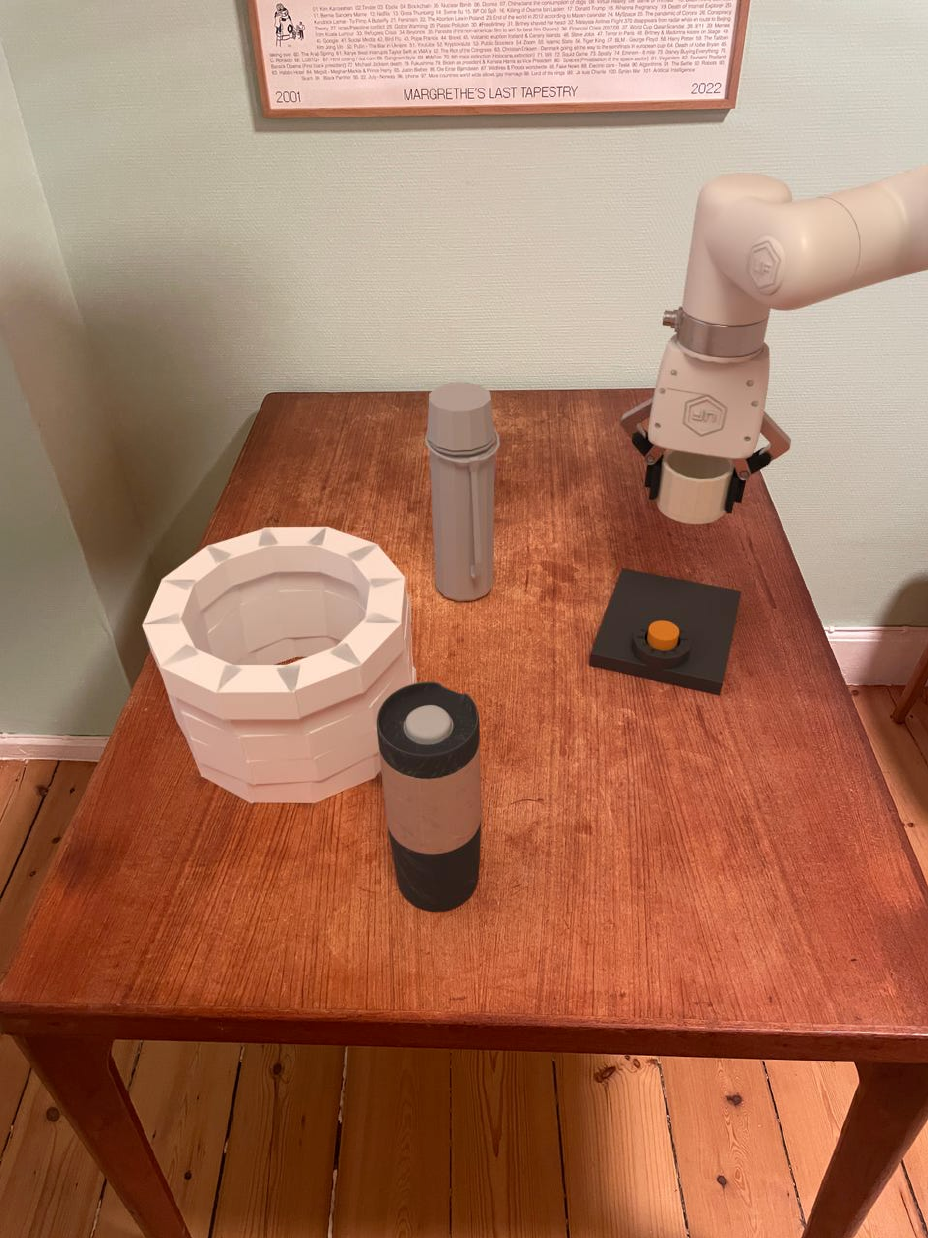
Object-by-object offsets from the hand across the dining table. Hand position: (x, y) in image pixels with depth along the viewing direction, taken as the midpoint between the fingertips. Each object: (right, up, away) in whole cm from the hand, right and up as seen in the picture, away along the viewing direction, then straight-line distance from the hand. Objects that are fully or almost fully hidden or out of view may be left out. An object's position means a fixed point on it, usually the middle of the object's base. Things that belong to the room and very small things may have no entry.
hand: (691, 498), depth 91 cm
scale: (0, -14, +10) cm, 17 cm away
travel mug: (-25, -35, -13) cm, 45 cm away
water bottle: (-23, -9, +17) cm, 30 cm away
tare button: (-2, -15, +5) cm, 15 cm away
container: (-40, -22, +1) cm, 46 cm away
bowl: (0, -1, +1) cm, 1 cm away
